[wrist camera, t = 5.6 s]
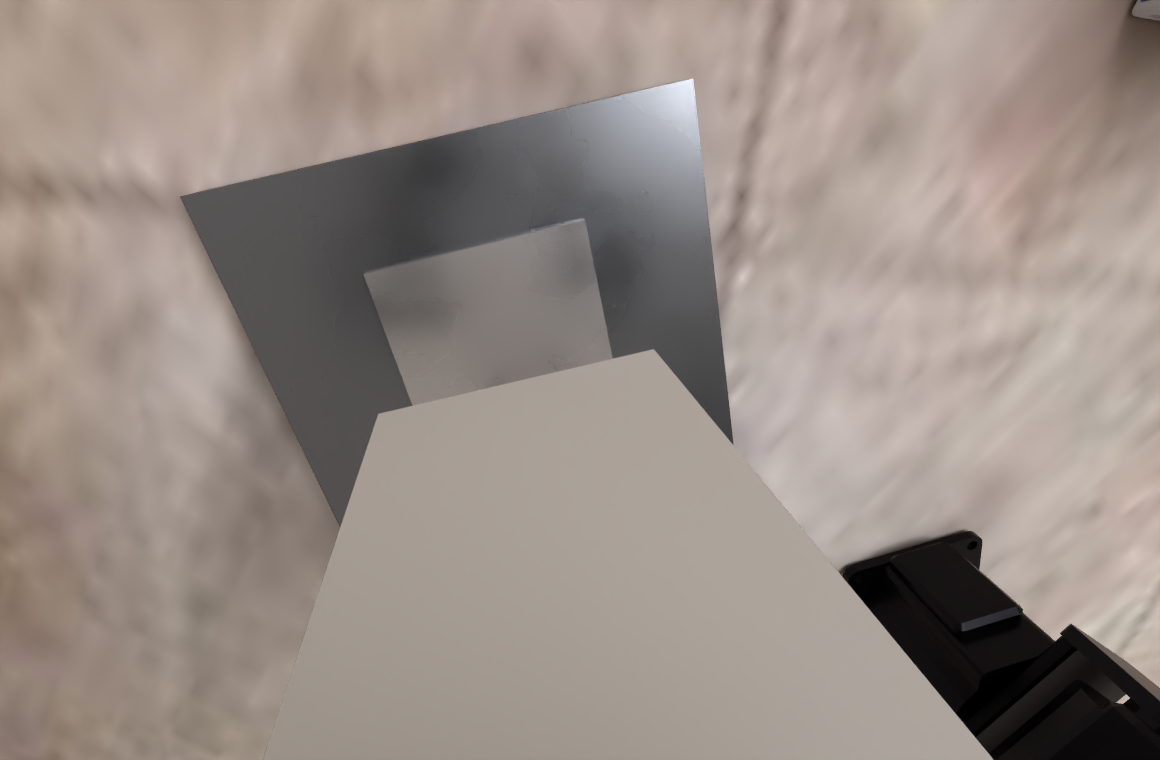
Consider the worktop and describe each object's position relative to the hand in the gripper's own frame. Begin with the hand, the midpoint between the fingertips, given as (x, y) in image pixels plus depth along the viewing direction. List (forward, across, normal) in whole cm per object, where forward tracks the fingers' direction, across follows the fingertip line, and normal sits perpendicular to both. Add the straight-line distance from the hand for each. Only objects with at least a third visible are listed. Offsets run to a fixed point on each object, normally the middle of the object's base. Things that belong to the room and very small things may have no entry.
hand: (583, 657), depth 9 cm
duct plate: (+12, 0, 0) cm, 12 cm away
